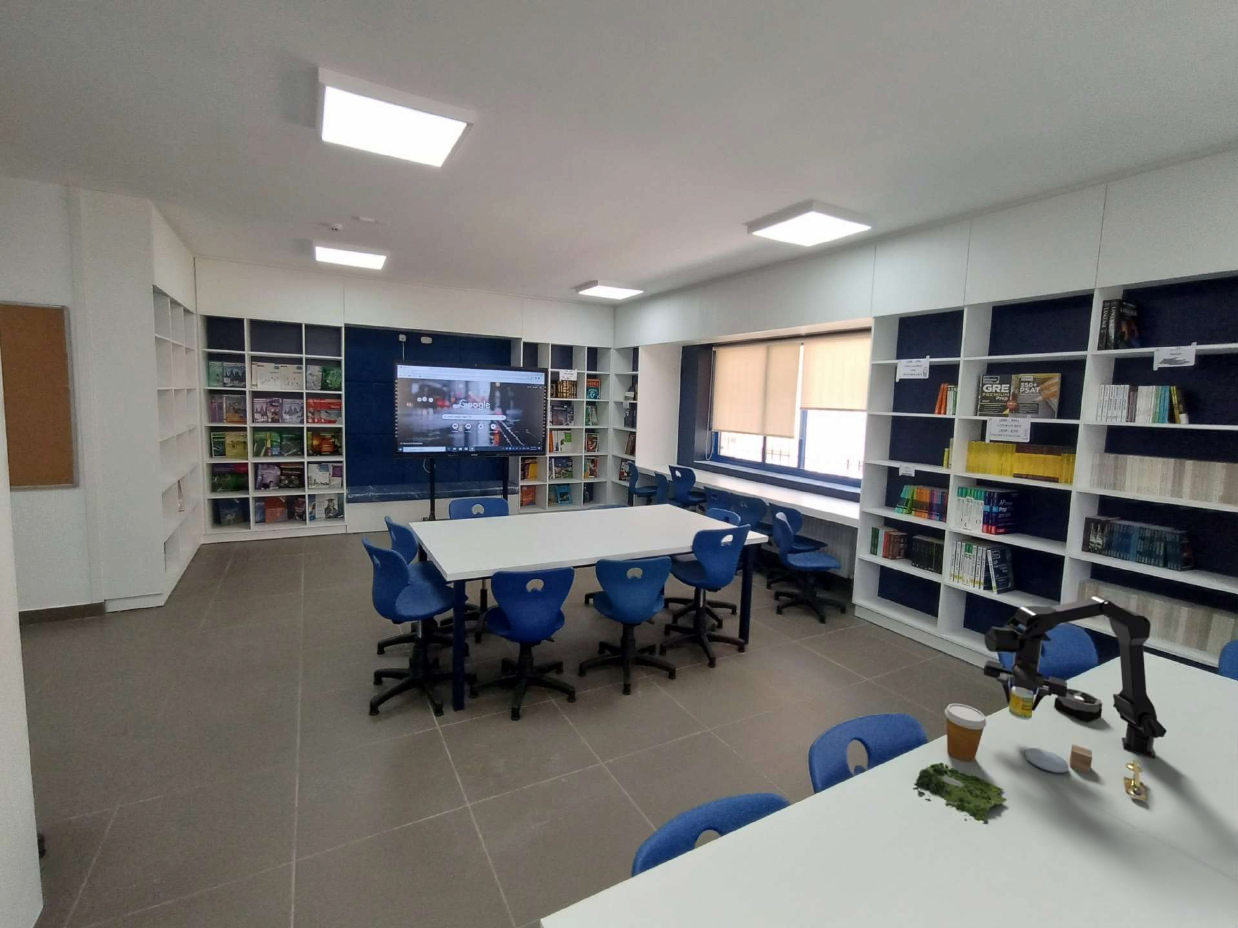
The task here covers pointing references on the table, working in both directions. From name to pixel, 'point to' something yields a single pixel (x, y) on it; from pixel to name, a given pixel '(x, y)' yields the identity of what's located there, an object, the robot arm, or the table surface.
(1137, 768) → the brass balance
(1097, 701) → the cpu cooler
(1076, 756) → the walnut block
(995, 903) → the table surface
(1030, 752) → the light blue dish
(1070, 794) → the table surface
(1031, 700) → the supplement bottle
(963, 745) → the disposable coffee cup
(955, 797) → the landscape model
